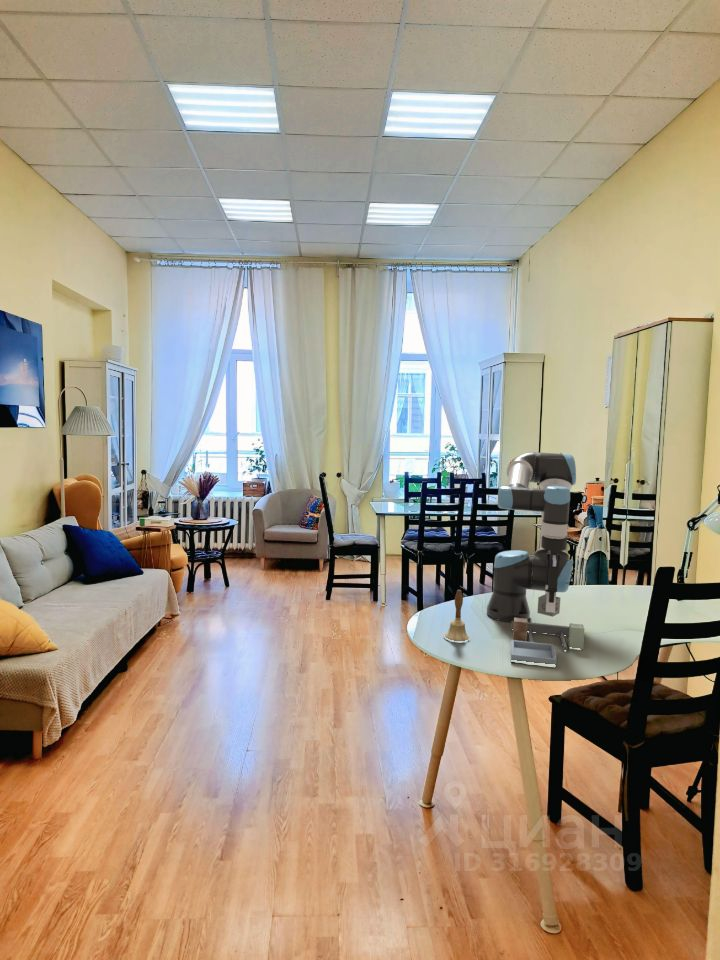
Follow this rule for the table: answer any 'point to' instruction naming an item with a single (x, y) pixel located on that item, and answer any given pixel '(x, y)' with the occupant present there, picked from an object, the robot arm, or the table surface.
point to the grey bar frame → (547, 630)
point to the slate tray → (533, 652)
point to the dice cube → (543, 606)
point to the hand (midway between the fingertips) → (549, 608)
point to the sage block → (576, 635)
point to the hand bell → (457, 622)
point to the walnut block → (520, 629)
